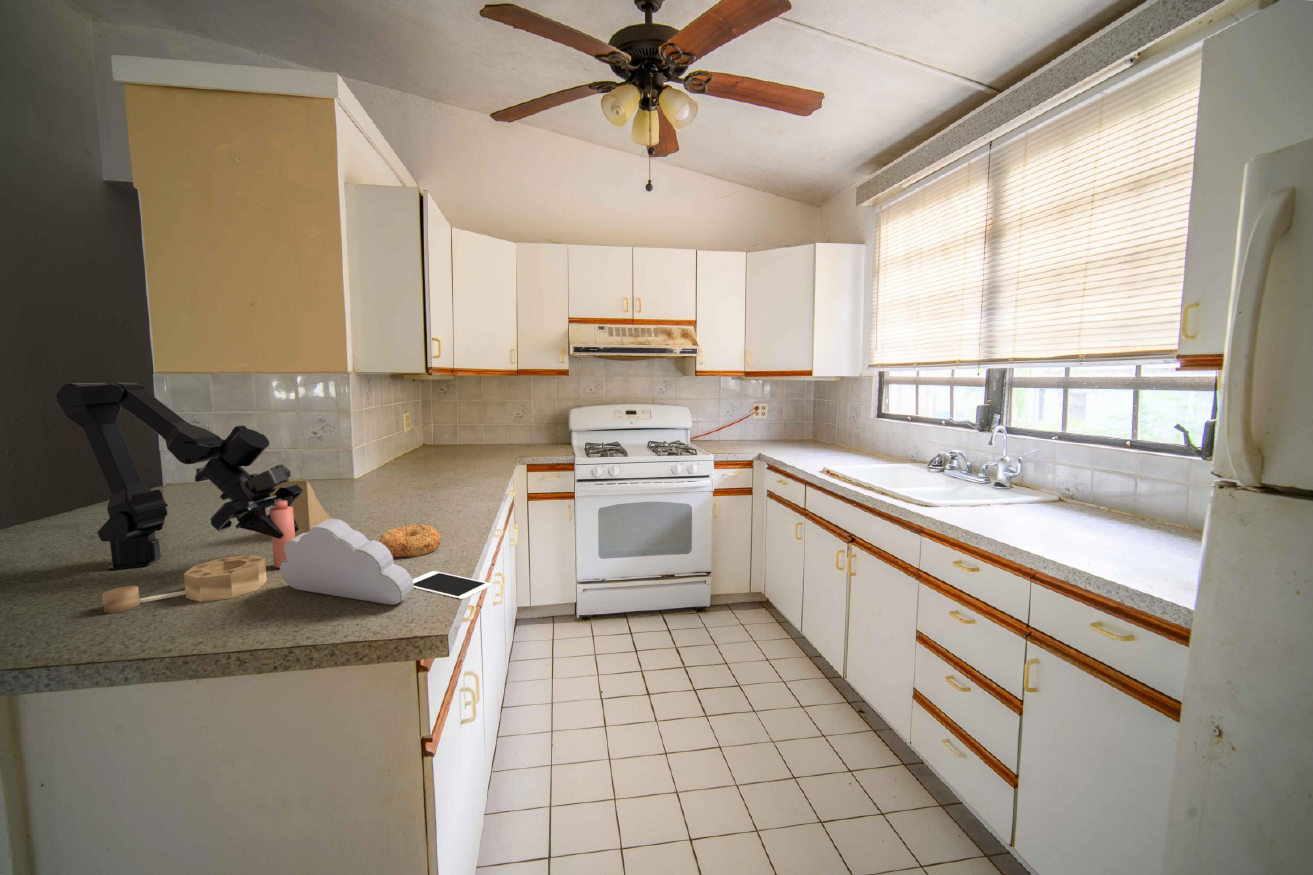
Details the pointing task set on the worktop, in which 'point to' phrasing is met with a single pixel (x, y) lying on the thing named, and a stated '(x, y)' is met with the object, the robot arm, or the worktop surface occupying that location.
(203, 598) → the bead
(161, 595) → the white thin stick
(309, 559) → the decorative item
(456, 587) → the cell phone
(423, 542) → the bagel
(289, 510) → the pink bottle
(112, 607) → the small bead
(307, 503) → the sandwich container
